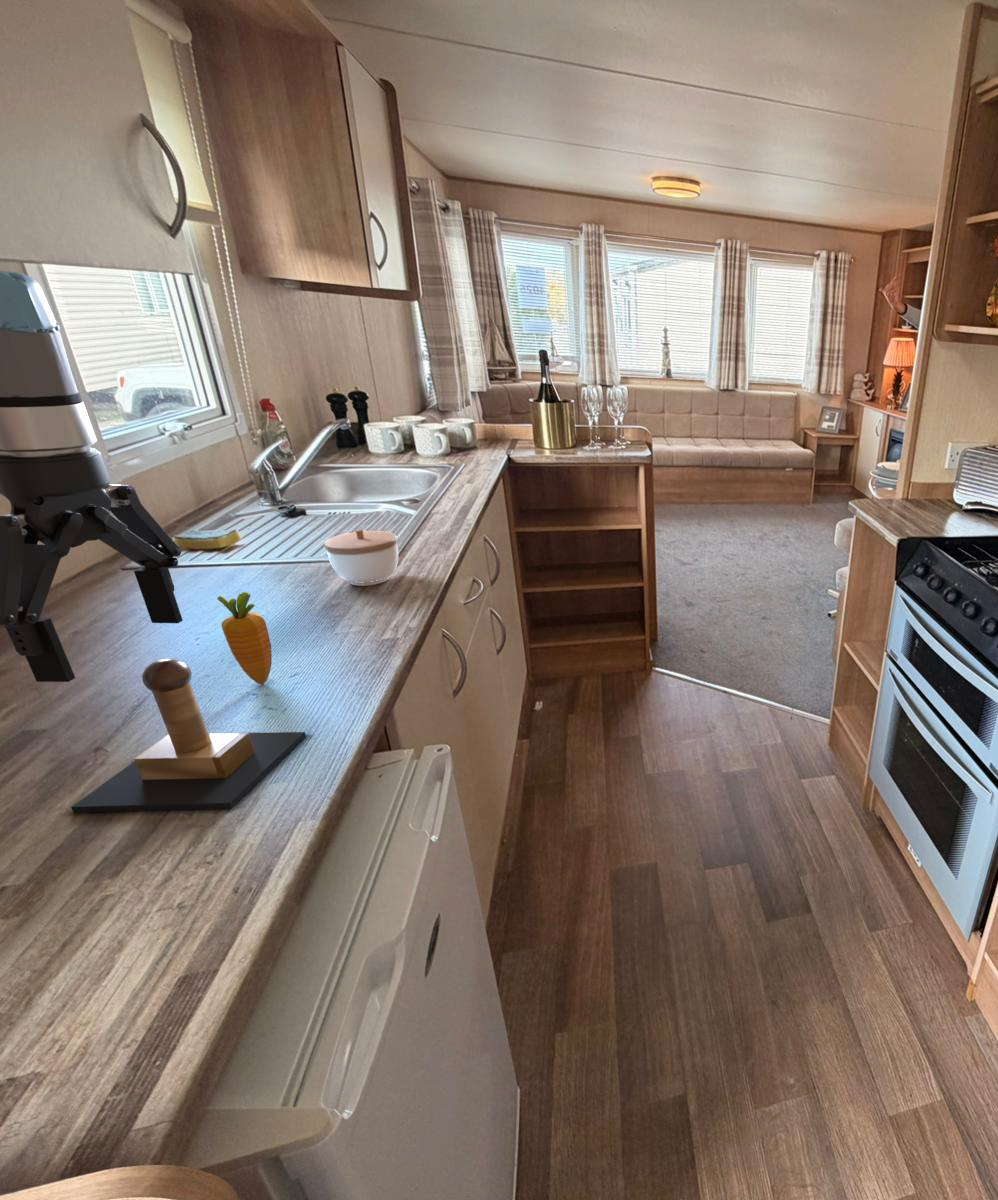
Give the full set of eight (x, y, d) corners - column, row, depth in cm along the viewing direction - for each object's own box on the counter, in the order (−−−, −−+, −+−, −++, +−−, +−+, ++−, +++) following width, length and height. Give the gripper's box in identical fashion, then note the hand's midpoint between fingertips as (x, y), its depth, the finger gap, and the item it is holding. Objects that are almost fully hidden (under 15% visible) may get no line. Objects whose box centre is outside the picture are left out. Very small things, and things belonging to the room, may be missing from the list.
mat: (73, 812, 70) (70, 807, 70) (174, 738, 83) (172, 733, 83) (231, 808, 72) (229, 803, 72) (306, 736, 85) (304, 731, 85)
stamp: (255, 752, 80) (221, 650, 75) (226, 778, 76) (188, 671, 70) (176, 754, 79) (136, 650, 74) (142, 779, 74) (96, 671, 69)
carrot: (232, 688, 95) (201, 596, 89) (267, 673, 99) (239, 584, 93) (257, 695, 93) (227, 601, 88) (291, 679, 98) (264, 589, 92)
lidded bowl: (329, 576, 136) (317, 527, 132) (396, 566, 144) (387, 519, 140) (339, 595, 127) (326, 542, 123) (410, 582, 135) (400, 533, 131)
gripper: (112, 428, 71) (170, 602, 79) (-176, 474, 48) (-54, 711, 56) (187, 432, 72) (236, 603, 80) (-61, 478, 49) (43, 711, 57)
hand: (117, 648), depth 68 cm, fingers open, 13 cm apart
